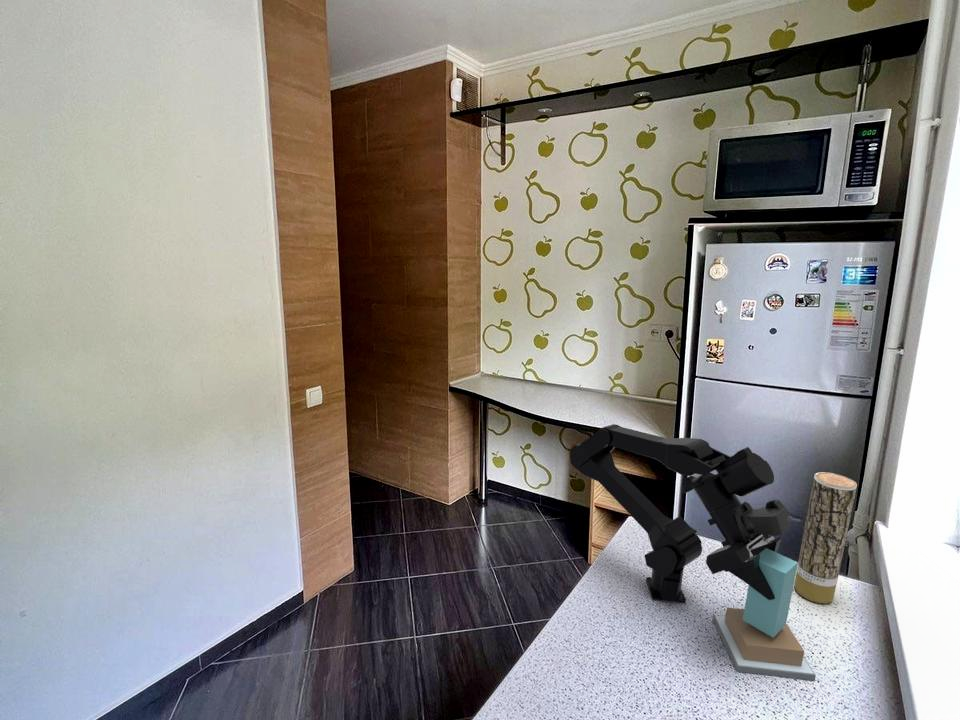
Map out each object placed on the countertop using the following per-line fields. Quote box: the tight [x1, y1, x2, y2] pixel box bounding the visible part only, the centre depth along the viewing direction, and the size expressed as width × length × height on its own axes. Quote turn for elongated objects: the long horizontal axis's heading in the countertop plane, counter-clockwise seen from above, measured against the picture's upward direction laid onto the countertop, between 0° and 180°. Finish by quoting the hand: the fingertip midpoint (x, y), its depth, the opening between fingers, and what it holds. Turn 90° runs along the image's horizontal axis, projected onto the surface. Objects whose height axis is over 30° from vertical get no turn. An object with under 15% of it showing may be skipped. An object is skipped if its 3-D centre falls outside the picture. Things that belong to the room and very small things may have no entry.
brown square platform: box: [712, 607, 817, 682], centre depth 88 cm, size 12×12×4 cm
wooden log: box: [793, 471, 858, 604], centre depth 100 cm, size 7×7×25 cm
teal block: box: [743, 548, 798, 638], centre depth 86 cm, size 5×5×12 cm
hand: (779, 593), depth 85 cm, fingers closed on teal block, 5 cm apart
